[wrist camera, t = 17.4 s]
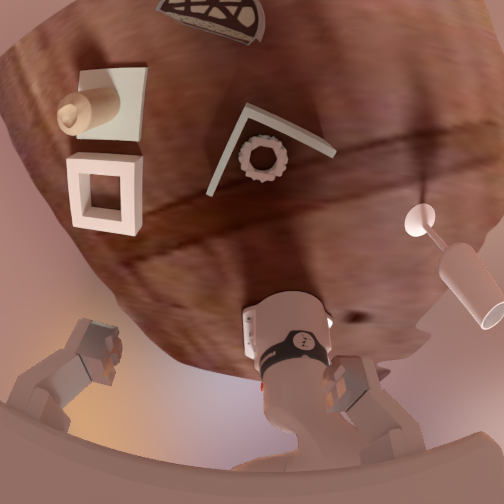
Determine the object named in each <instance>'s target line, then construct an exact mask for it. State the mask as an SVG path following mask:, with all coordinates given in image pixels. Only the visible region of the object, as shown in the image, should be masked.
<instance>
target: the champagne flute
mask: <svg viewBox="0 0 504 504" xmlns="http://www.w3.org/2000/svg"><path fill="white" fill-rule="evenodd" d="M434 220H435V212H434V209H433V208H432V207H431V206H430V205H429V204H424V203H423V204H418V205H416V206H415V207H413V208H412V209H411V210H410V211H409V213H408V214H407V216H406V219H405V229H406V231H407V233H408V234H409V235H411V236H421V235H424V234H425V233H428V234H429V236H430V237H431V238H432V239H433V240H434V241H435V243H436V244H437V245H438V246H439V247H440V249H441V250H442V251H443V252H442V255H441V257H440V260H439V274H440V277H441V279H442V280H443V281H444V282H445V283H446V284H447V286H448V287H449V288H450V289H451V290H452V291H453V292H454V294H455V295H456V296H457V297H458V299H459V300H460V301H461V302H462V303H463V305H464V306H465V307H466V308H467V310H468V311H469V312H470V313H471V315H472V316H473V317H474V319H475V320H476V321H477V323H478V324H479V325H480V326H481V328H482V329H484V330H485V329H489V328H491V327H493V326H494V325H496V324H497V323H498V322H499V321H500V320H501V319H502V318H503V316H504V295H503V294H502V292H501V290H500V289H499V287H498V285H497V284H496V282H495V281H494V279H493V278H492V276H491V274H490V273H489V271H488V270H487V268H486V267H485V265H484V264H483V262H482V261H481V259H480V258H479V257H478V255H477V254H476V252H475V251H474V249H473V248H472V247H471V246H470V245H468V244H466V243H454V244H452V245H449V246H447V245H446V244H445V242H444V241H443V240H442V239H441V238H440V237H439V236H438V235H437V233H436V232H435V231H434V230H433V229H432V228H431V227H432V225H433V223H434Z"/></svg>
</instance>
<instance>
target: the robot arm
mask: <svg viewBox="0 0 504 504" xmlns="http://www.w3.org/2000/svg"><path fill="white" fill-rule="evenodd" d="M242 314H243V331H244V348H245V355H246V356H248V357H250V358H252V359H254V367H255V369H256V370H258V371H259V372H260V376H261V379H262V383H261V391H263V396H264V414H265V416H266V418H267V420H268V421H269V422H270V424H271V425H272V426H274V427H275V428H277V429H279V430H282V431H285V432H289V433H293V434H296V436H297V439H298V448H297V449H296V450H294V451H290V452H286V453H281V454H276V455H271V456H265V457H259V458H256V459H253V460H251V461H248V462H245V463H243V464H240V465H238V466H235V467H233V468H232V469H231V470H219V469H210V468H201V467H194V466H187V465H180V464H175V463H169V462H164V461H159V460H154V459H149V458H145V457H141V456H137V455H132V454H129V453H125V452H122V451H117V450H115V449H111V448H108V447H105V446H101V445H98V444H95V443H92V442H89V441H87V440H84V439H81V438H78V437H76V436H73V435H71V434H68V433H67V432H68V429H69V425H70V422H71V421H70V418H69V417H68V416H67V415H66V413H65V412H64V411H63V410H62V408H64V407H65V406H66V405H67V404H68V403H69V402H70V401H71V400H73V399H74V398H75V397H76V396H77V395H78V394H79V393H80V392H82V391H83V390H84V389H85V388H86V387H87V386H88V385H89V384H91V381H93V382H97V383H101V384H104V385H108V386H112V383H113V380H114V377H115V373H116V371H115V369H114V366H115V365H117V364H118V363H119V362H120V359H121V353H122V342H121V340H120V339H119V338H118V335H119V330H118V327H115V326H111V325H108V324H104V323H100V322H96V321H93V320H89V319H86V318H81V319H79V320H78V322H77V324H76V326H75V328H74V330H73V332H72V334H71V335H70V338H69V339H68V342H67V343H66V345H65V348H64V350H63V349H59V350H58V351H56V352H55V353H53V354H52V355H50V356H49V357H47V358H46V359H44V360H42V361H41V362H39V363H38V364H36V365H35V366H33V367H32V368H30V369H29V370H27V371H26V372H24V373H23V374H21V375H20V376H18V378H17V380H16V382H15V384H14V387H13V389H12V391H11V393H10V396H9V398H8V400H7V403H6V404H5V403H4V402H2V401H0V504H504V456H503V452H502V450H501V448H500V446H499V445H498V444H497V443H496V442H495V441H494V440H493V439H492V438H491V437H490V436H489V435H487V434H486V433H485V432H481V431H480V432H477V433H474V434H471V435H469V436H466V437H464V438H461V439H458V440H456V441H453V442H450V443H447V444H444V445H441V446H438V447H435V448H432V449H429V450H426V447H425V444H424V440H423V436H422V432H421V429H420V426H419V423H418V422H417V421H416V420H415V419H414V418H413V417H412V416H411V415H409V413H408V412H407V411H406V410H405V409H404V408H403V407H402V406H401V405H400V404H399V403H398V402H396V400H395V399H394V398H392V397H391V395H390V394H389V393H388V392H387V391H385V390H384V389H383V390H382V389H381V386H380V382H379V379H378V376H377V372H376V369H375V366H374V363H373V359H372V358H371V356H348V355H336V356H334V357H333V358H332V360H331V363H332V364H331V365H330V363H329V357H328V355H327V354H328V352H329V351H330V350H331V340H330V332H329V328H330V327H331V326H332V324H333V319H332V317H331V316H330V315H328V314H327V313H326V312H325V310H324V307H323V305H322V303H321V302H320V301H319V300H318V299H317V298H316V297H314V296H313V295H310V294H308V293H305V292H299V291H286V292H281V293H277V294H274V295H272V296H269V297H268V298H266V299H264V300H263V301H262V302H260V303H259V304H257V305H254V306H251V307H248V308H245V309H244V310H243V312H242ZM248 317H249V318H248ZM329 365H330V366H329ZM340 412H346V414H347V415H348V417H349V418H350V419H351V421H352V422H353V423H354V425H355V426H356V427H355V426H354V425H352V424H351V423H349V422H348V421H347V420H346V419H345V418H344V417H343V416H342V414H341V413H340Z"/></svg>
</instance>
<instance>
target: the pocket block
mask: <svg viewBox="0 0 504 504" xmlns="http://www.w3.org/2000/svg"><path fill="white" fill-rule="evenodd" d="M142 172H143V156H137V155H124V154H109V153H89V152H77V153H75V154H74V155H72V156H70V157H68V158H67V175H68V188H69V198H70V206H71V214H72V222H73V227H80V228H86V229H93V230H99V231H106V232H112V233H119V234H125V235H132V236H136V234H137V233H138V231H139V229H140V228H141V226H142ZM89 174H99V175H111V176H120V187H121V210H113V209H105V208H97V207H92V205H91V192H90V175H89Z"/></svg>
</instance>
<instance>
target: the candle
mask: <svg viewBox="0 0 504 504" xmlns="http://www.w3.org/2000/svg"><path fill="white" fill-rule="evenodd" d="M119 109H120V98H119V95H118V94H117V92H116V91H115V90H113V89H111V88H107V87H104V88H96V89H90V90H84V91H79V92H74V93H70V94H68V95H67V96H65V97H64V98H63V99H62V101H61V102H60V104H59V106H58V110H57V121H58V124H59V126H60V128H61V130H62V131H63V132H64V133H66V134H68V135H72V136H74V135H79V134H81V133H83V132H85V131H88V130H90V129H92V128H95V127H97V126H100V125H102V124H105V123H107V122H109V121H111V120H112V119H114V118H115V117H116V115H117V114H118V112H119Z"/></svg>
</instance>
